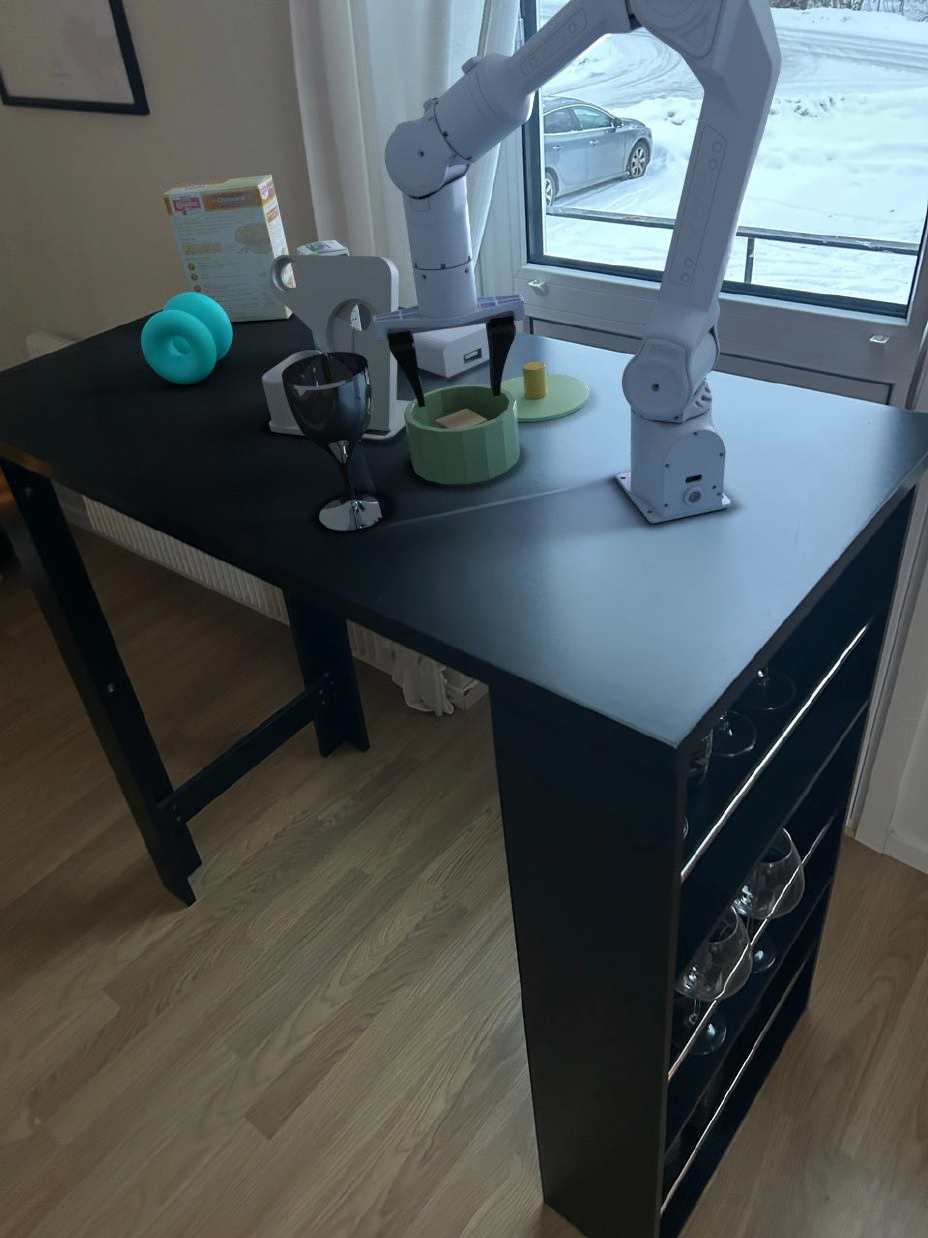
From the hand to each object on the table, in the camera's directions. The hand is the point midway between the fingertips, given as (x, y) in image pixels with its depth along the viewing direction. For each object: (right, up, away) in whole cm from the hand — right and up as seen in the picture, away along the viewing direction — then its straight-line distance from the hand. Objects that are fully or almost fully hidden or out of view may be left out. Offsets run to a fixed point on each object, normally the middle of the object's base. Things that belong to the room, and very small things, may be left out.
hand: (458, 397), depth 94 cm
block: (+1, -6, +4) cm, 7 cm away
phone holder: (-14, +1, +17) cm, 22 cm away
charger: (-3, +12, +29) cm, 32 cm away
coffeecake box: (-34, +26, +53) cm, 68 cm away
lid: (+9, +3, +14) cm, 17 cm away
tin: (+1, -6, +4) cm, 7 cm away
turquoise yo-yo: (-36, +12, +35) cm, 52 cm away
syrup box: (-16, +14, +34) cm, 41 cm away
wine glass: (-10, -12, -1) cm, 16 cm away
